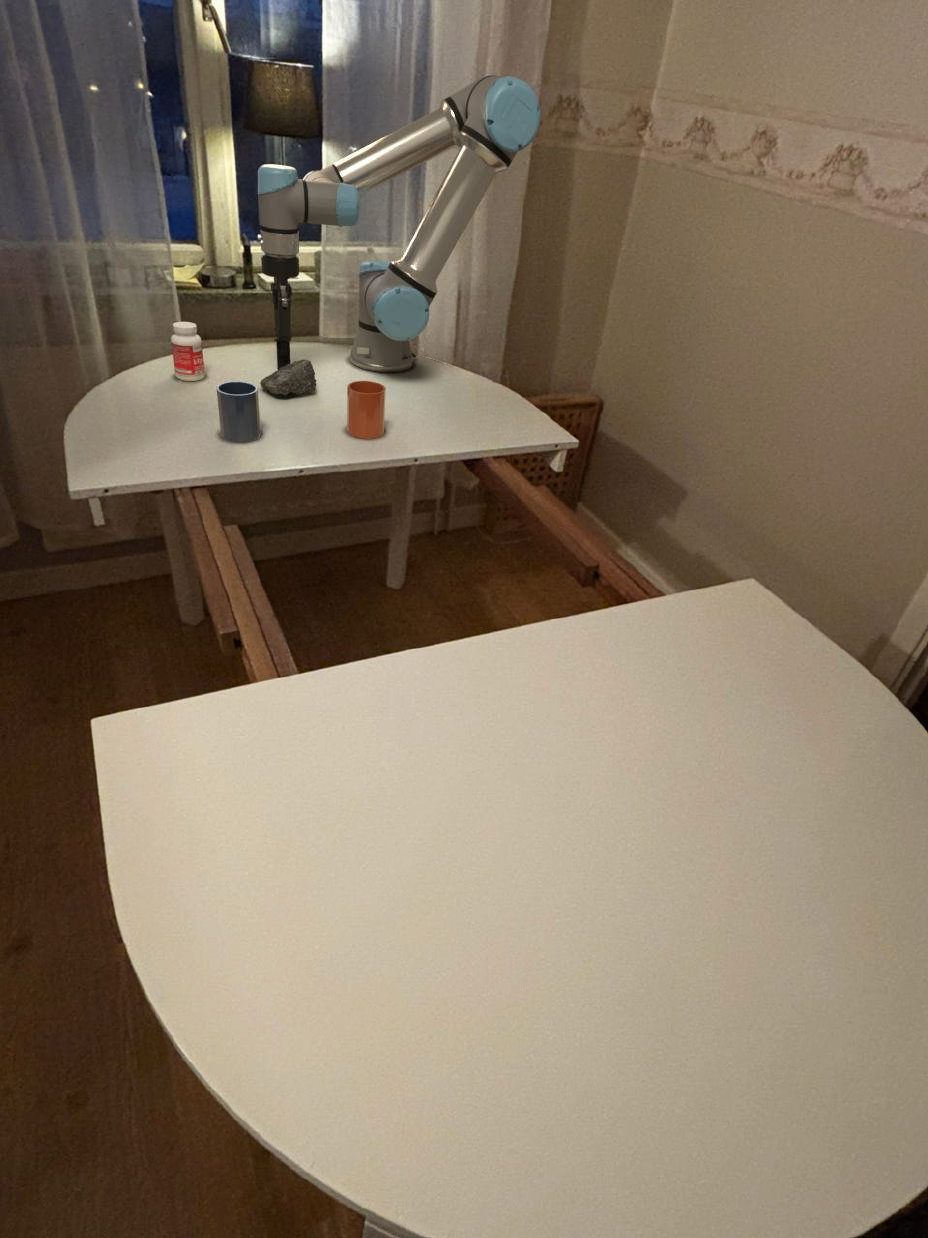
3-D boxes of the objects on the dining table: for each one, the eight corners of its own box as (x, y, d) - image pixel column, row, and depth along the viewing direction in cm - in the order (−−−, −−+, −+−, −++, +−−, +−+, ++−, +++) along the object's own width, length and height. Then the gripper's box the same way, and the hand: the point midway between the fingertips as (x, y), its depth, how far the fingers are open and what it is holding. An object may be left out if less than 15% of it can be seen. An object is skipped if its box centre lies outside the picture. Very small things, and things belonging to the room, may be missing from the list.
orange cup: (379, 424, 151) (380, 380, 146) (387, 438, 146) (389, 393, 140) (344, 424, 149) (344, 380, 144) (351, 439, 144) (351, 394, 138)
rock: (257, 387, 160) (255, 360, 156) (303, 381, 166) (303, 354, 162) (275, 403, 155) (273, 375, 151) (322, 396, 160) (322, 369, 157)
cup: (258, 426, 144) (255, 381, 138) (262, 441, 138) (259, 394, 133) (219, 427, 141) (215, 381, 136) (222, 443, 136) (217, 395, 131)
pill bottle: (199, 383, 159) (194, 330, 152) (171, 379, 159) (164, 326, 152) (209, 373, 164) (204, 322, 157) (181, 370, 164) (175, 318, 157)
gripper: (258, 245, 154) (263, 359, 168) (264, 260, 144) (269, 379, 158) (294, 248, 156) (297, 360, 170) (303, 262, 146) (305, 380, 160)
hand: (283, 369), depth 164 cm, fingers closed
